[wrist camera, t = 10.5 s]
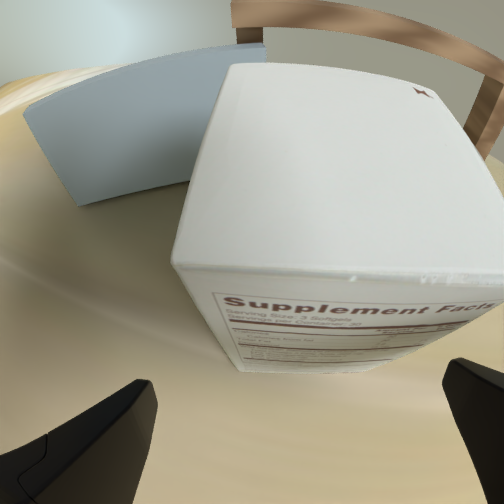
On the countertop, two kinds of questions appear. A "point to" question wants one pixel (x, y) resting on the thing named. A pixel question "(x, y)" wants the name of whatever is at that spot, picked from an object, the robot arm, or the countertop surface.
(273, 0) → the door frame
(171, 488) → the countertop surface
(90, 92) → the door
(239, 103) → the supplement box
